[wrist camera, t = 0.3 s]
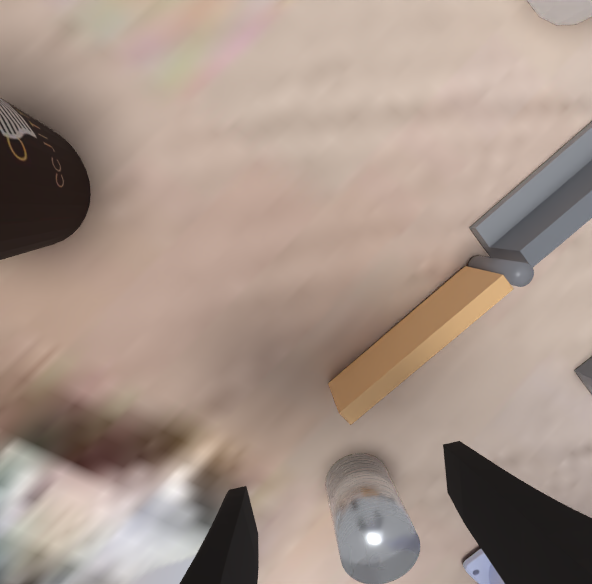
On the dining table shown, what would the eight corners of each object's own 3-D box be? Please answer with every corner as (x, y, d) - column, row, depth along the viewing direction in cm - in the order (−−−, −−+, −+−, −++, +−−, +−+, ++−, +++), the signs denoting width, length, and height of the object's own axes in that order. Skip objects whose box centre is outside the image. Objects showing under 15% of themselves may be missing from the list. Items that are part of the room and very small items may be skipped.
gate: (479, 251, 20) (525, 257, 16) (490, 266, 20) (538, 275, 16) (327, 382, 21) (338, 415, 17) (339, 394, 21) (353, 429, 17)
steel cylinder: (400, 480, 23) (435, 550, 18) (352, 519, 23) (374, 597, 19) (361, 441, 22) (387, 503, 17) (312, 481, 22) (324, 554, 18)
